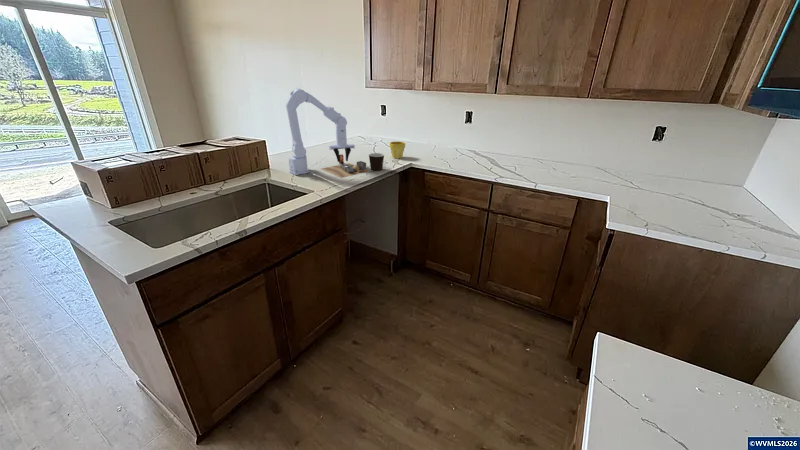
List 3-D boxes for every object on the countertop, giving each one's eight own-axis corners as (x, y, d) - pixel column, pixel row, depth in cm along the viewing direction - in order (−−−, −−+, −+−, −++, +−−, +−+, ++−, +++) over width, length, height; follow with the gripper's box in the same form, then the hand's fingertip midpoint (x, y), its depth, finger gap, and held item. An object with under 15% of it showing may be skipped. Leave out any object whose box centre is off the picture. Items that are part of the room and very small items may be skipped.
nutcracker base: (341, 180, 177) (340, 169, 175) (320, 171, 192) (319, 161, 189) (371, 173, 190) (370, 163, 187) (349, 165, 204) (348, 155, 202)
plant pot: (396, 154, 231) (396, 140, 227) (408, 157, 226) (408, 142, 221) (386, 157, 224) (386, 142, 220) (398, 160, 218) (398, 145, 214)
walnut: (355, 172, 186) (355, 166, 184) (351, 171, 188) (351, 164, 187) (360, 171, 188) (360, 165, 187) (357, 169, 191) (356, 163, 189)
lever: (354, 172, 185) (353, 161, 183) (347, 173, 184) (346, 162, 181) (343, 164, 200) (343, 154, 197) (337, 165, 198) (336, 154, 195)
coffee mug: (378, 175, 187) (378, 157, 183) (366, 172, 191) (365, 155, 187) (389, 170, 196) (389, 153, 192) (377, 168, 200) (377, 151, 196)
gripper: (352, 135, 197) (352, 158, 203) (327, 137, 192) (329, 160, 198) (355, 138, 191) (356, 161, 197) (329, 139, 186) (331, 163, 192)
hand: (342, 161), depth 197 cm, fingers open, 4 cm apart
